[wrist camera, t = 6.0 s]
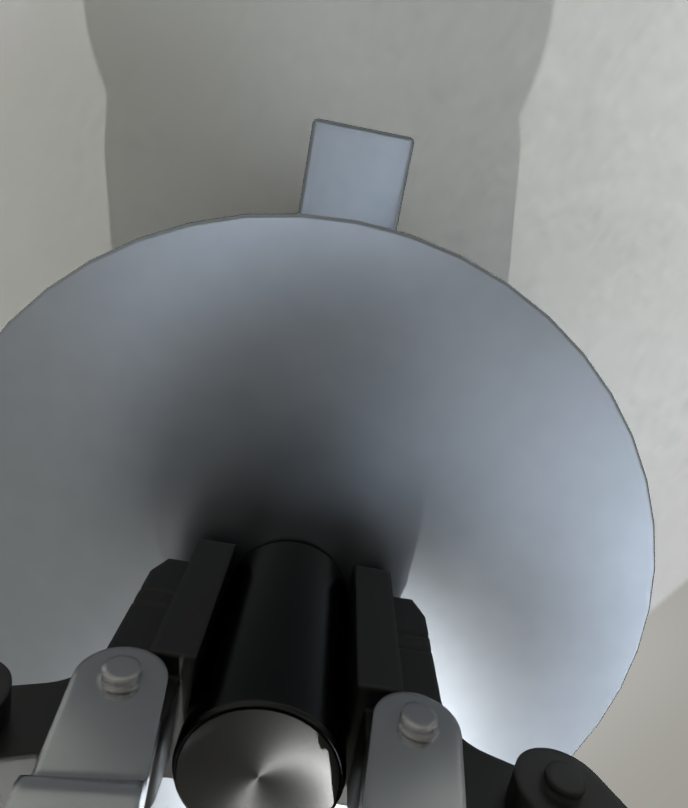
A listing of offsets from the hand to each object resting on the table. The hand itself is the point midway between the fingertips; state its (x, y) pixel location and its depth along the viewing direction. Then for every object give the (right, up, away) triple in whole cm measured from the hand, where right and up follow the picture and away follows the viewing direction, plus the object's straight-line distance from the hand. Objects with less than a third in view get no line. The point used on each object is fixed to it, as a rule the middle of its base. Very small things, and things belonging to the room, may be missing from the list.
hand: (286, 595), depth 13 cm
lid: (0, 0, +1) cm, 1 cm away
